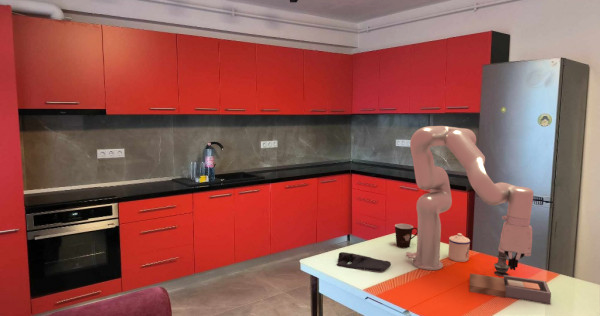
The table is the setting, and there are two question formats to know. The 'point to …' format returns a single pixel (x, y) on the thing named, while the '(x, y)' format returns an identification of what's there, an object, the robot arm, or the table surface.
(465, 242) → the teacup with lid
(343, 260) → the dark slate chunk
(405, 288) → the table surface
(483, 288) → the board
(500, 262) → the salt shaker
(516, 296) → the box
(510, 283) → the cream white block
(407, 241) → the coffee mug
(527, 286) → the salmon orange block
